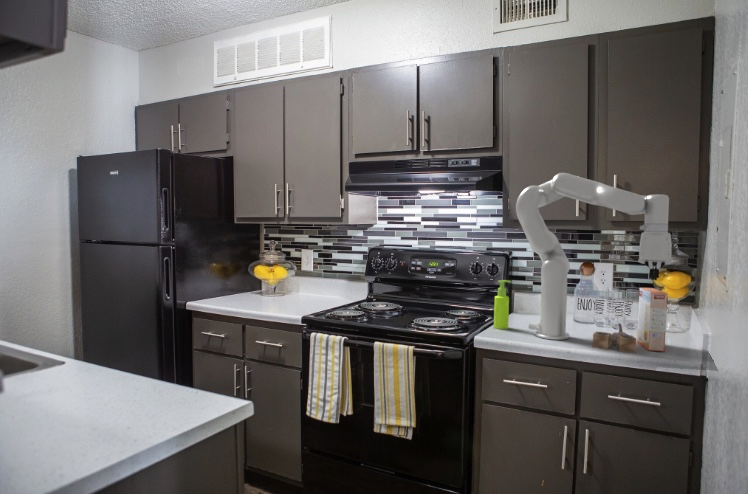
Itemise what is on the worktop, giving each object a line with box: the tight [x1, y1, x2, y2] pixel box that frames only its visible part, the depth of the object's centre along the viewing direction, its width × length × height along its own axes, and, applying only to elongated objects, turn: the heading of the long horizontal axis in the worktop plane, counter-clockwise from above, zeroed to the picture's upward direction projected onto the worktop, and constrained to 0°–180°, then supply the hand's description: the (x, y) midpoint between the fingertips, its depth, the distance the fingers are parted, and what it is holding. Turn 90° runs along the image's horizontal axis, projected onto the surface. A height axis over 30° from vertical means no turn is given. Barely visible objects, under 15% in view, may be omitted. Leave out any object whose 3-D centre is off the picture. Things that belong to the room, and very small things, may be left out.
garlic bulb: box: [611, 322, 629, 346], centre depth 198 cm, size 8×7×8 cm
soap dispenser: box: [493, 279, 513, 330], centre depth 224 cm, size 6×7×20 cm
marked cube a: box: [616, 334, 637, 354], centre depth 189 cm, size 5×5×5 cm
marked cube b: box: [592, 331, 612, 350], centre depth 193 cm, size 5×5×5 cm
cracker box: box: [636, 287, 669, 352], centre depth 194 cm, size 14×6×21 cm, turn 168°
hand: (653, 279), depth 193 cm, fingers closed
